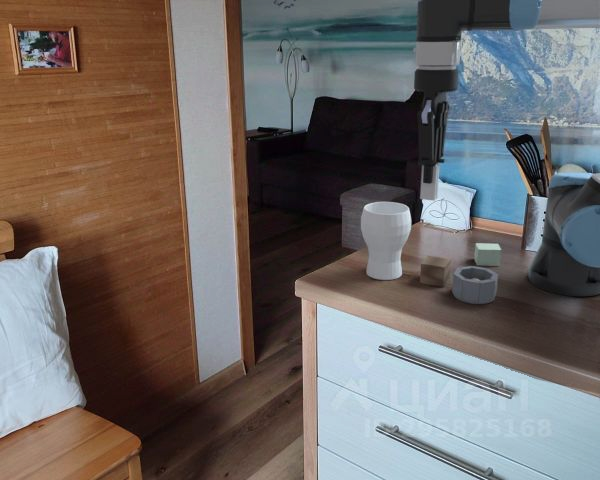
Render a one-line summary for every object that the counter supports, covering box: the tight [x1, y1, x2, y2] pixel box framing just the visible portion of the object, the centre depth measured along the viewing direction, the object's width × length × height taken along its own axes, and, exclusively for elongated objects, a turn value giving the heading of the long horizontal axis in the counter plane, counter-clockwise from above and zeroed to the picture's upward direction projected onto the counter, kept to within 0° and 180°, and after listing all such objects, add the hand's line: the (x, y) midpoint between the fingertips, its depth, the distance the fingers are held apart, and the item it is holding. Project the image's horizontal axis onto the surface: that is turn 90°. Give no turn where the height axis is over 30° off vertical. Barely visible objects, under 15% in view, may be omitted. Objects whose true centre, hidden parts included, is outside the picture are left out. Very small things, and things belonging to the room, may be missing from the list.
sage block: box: [473, 242, 502, 267], centre depth 131 cm, size 5×4×4 cm
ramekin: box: [451, 265, 499, 305], centre depth 115 cm, size 8×8×5 cm
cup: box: [360, 201, 412, 281], centre depth 124 cm, size 11×11×15 cm
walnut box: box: [419, 255, 452, 288], centre depth 122 cm, size 5×5×4 cm
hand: (428, 198), depth 108 cm, fingers closed
